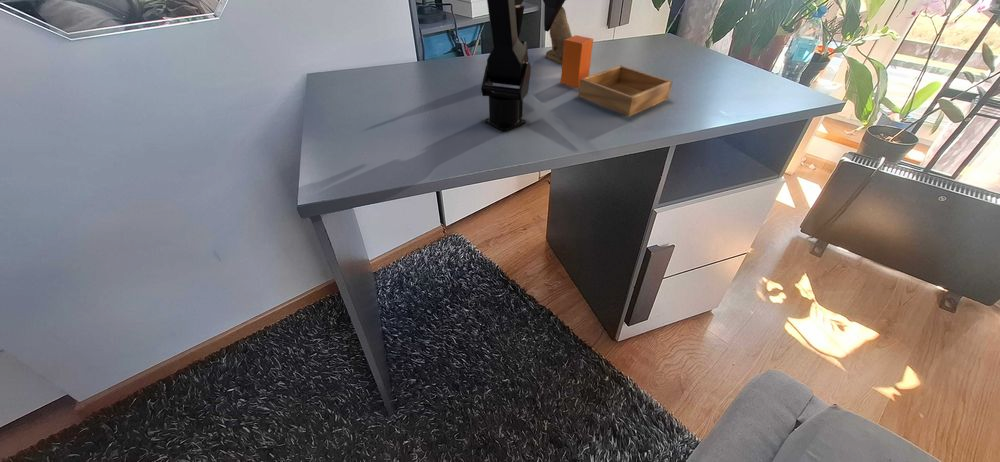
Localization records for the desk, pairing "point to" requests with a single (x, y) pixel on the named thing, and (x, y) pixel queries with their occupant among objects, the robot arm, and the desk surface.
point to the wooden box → (624, 90)
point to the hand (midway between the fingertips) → (531, 34)
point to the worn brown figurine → (559, 36)
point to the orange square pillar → (576, 60)
